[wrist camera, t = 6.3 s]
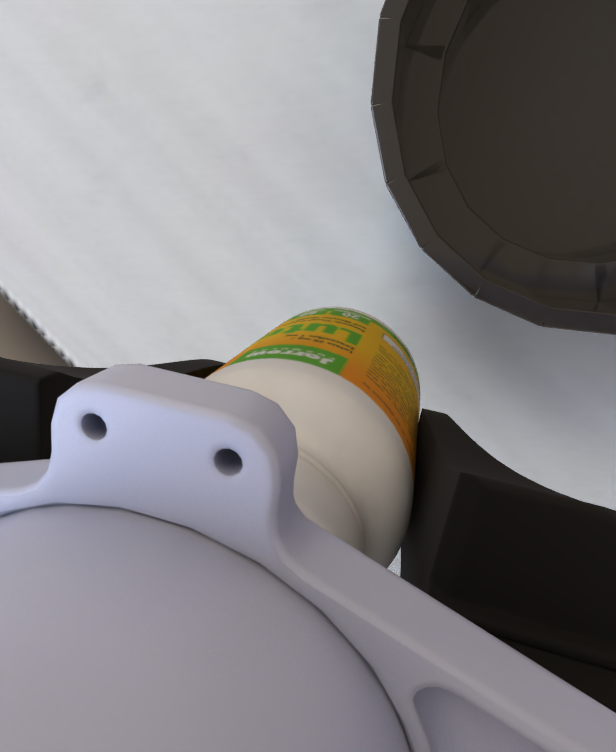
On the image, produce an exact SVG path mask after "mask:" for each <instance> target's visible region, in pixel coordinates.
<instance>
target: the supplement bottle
mask: <svg viewBox="0 0 616 752" xmlns="http://www.w3.org/2000/svg"><path fill="white" fill-rule="evenodd" d="M205 379H206V380H210V381H215V382H219V383H223V384H227V385H231V386H236V387H240V388H244V389H248V390H252V391H254V392H256V393H258V394H260V395H262V396H264V397H266V398H268V399H270V400H272V401H274V402H276V403H278V404H279V405H280V407H281V408H282V410H283V411H284V412H285V414H286V415H287V417H288V418H289V419H290V421H291V422H292V424H293V425H294V426H295V430H296V438H297V447H298V459H297V465H296V471H295V477H294V491H293V494H294V498H295V502H296V504H297V506H298V507H299V509H300V510H301V512H302V513H303V514H304V516H305V517H306V518H308V519H309V520H311V521H312V522H314V523H316V524H317V525H319V526H320V527H322V528H323V529H325V530H327V531H328V532H330V533H331V534H333V535H334V536H336V537H338V538H339V539H341V540H342V541H344V542H346V543H347V544H349V545H350V546H352V547H353V548H355V549H357V550H358V551H360V552H361V553H363V554H365V555H366V556H368V557H369V558H371V559H372V560H374V561H376V562H377V563H379V564H380V565H382V566H383V567H385V568H388V566H389V565H390V564H391V562H392V561H393V560H394V558H395V556H396V555H397V553H398V551H399V549H400V547H401V545H402V543H403V541H404V538H405V536H406V533H407V529H408V525H409V522H410V516H411V510H412V505H413V495H414V484H415V468H416V451H417V435H418V423H419V410H420V383H419V377H418V372H417V368H416V365H415V362H414V360H413V358H412V356H411V354H410V352H409V350H408V349H407V347H406V345H405V344H404V343H403V341H402V340H401V339H400V338H399V337H398V336H397V335H396V333H395V332H394V331H393V330H392V329H390V328H389V327H388V326H387V325H385V324H384V323H383V322H381V321H380V320H378V319H376V318H375V317H373V316H371V315H369V314H366V313H364V312H361V311H358V310H354V309H350V308H343V307H322V308H317V309H312V310H309V311H305V312H303V313H300V314H298V315H296V316H294V317H292V318H290V319H288V320H287V321H285V322H283V323H282V324H280V325H279V326H278V327H276V328H275V329H273V330H272V331H271V332H269V333H268V334H266V335H265V336H264V337H262V338H261V339H259V340H258V341H257V342H255V343H254V344H252V345H251V346H249V347H248V348H247V349H245V350H244V351H242V352H241V353H240V354H238V355H237V356H236V357H234V358H233V359H231V360H230V361H229V362H227V363H226V364H224V365H223V366H222V367H220V368H219V369H217V370H216V371H215V372H213V373H212V374H211V375H209V376H208V377H206V378H205Z"/></svg>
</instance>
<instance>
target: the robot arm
mask: <svg viewBox="0 0 616 752" xmlns="http://www.w3.org/2000/svg"><path fill="white" fill-rule="evenodd" d="M224 364H226V363H223V362H219V361H214V360H208V359H199V360H188V361H179V362H172V363H164V364H155V365H143V364H122V365H114V366H112V367H110V368H82V367H65V366H52V365H43V364H35V363H28V362H21V361H16V360H10V359H5V358H1V357H0V752H616V511H615V510H612V509H608V508H605V507H601V506H598V505H594V504H590V503H586V502H582V501H579V500H576V499H574V498H571V497H568V496H566V495H563V494H560V493H558V492H555V491H553V490H551V489H548V488H546V487H544V486H542V485H540V484H538V483H536V482H534V481H532V480H530V479H528V478H526V477H524V476H522V475H520V474H518V473H517V472H515V471H513V470H512V469H510V468H509V467H507V466H506V465H504V464H502V463H501V462H499V461H498V460H497V459H495V458H494V457H492V456H491V455H490V454H489V453H487V452H486V451H485V450H484V449H483V448H481V447H480V446H479V445H478V444H477V443H476V442H475V441H473V440H472V439H471V438H470V437H469V436H468V435H467V434H466V433H465V432H464V431H463V430H462V429H461V428H460V427H459V426H458V425H457V424H456V423H455V422H454V421H453V420H452V419H451V418H450V417H449V416H448V415H447V414H444V413H440V412H436V411H431V410H427V409H423V408H422V411H421V415H420V419H419V423H418V435H417V451H416V468H415V484H414V495H413V505H412V510H411V516H410V522H409V525H408V529H407V533H406V536H405V538H404V541H403V543H402V545H401V574H400V577H399V576H398V575H396V574H395V573H393V572H391V571H390V570H388V569H387V568H385V567H383V566H382V565H380V564H379V563H377V562H376V561H374V560H372V559H371V558H369V557H368V556H366V555H365V554H363V553H361V552H360V551H358V550H357V549H355V548H353V547H352V546H350V545H349V544H347V543H346V542H344V541H342V540H341V539H339V538H338V537H336V536H334V535H333V534H331V533H330V532H328V531H327V530H325V529H323V528H322V527H320V526H319V525H317V524H316V523H314V522H312V521H311V520H309V519H308V518H306V517H305V516H304V514H303V513H302V512H301V510H300V509H299V507H298V506H297V504H296V502H295V498H294V494H293V491H294V477H295V471H296V465H297V459H298V447H297V438H296V430H295V426H294V425H293V424H292V422H291V421H290V419H289V418H288V417H287V415H286V414H285V412H284V411H283V410H282V408H281V407H280V405H279V404H278V403H276V402H274V401H272V400H270V399H268V398H266V397H264V396H262V395H260V394H258V393H256V392H254V391H252V390H248V389H244V388H240V387H236V386H231V385H227V384H223V383H219V382H215V381H210V380H206V379H205V378H206V377H208V376H209V375H211V374H212V373H213V372H215V371H216V370H217V369H219V368H220V367H222V366H223V365H224Z"/></svg>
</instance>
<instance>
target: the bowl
mask: <svg viewBox="0 0 616 752" xmlns="http://www.w3.org/2000/svg"><path fill="white" fill-rule="evenodd" d="M371 105H372V106H371V111H372V116H373V122H374V127H375V132H376V137H377V143H378V148H379V153H380V158H381V164H382V169H383V174H384V179H385V183H386V186H387V188H388V190H389V192H390V194H391V195H392V197H393V199H394V201H395V203H396V204H397V206H398V208H399V210H400V212H401V214H402V215H403V217H404V219H405V221H406V223H407V225H408V226H409V228H410V230H411V232H412V234H413V236H414V237H415V239H416V241H417V243H418V245H419V247H420V248H422V250H423V251H424V252H425V253H426V254H427V255H428V256H429V257H430V258H431V259H433V260H434V261H435V262H436V263H437V264H438V265H439V266H440V267H441V268H442V269H443V270H445V271H446V272H447V273H448V274H449V275H450V276H451V277H452V278H453V279H454V280H456V281H457V282H458V283H459V284H460V285H461V286H462V287H463V288H464V289H465V290H466V291H468V292H469V293H470V294H471V295H473V296H474V297H475V298H477V299H479V300H481V301H484V302H486V303H488V304H491V305H493V306H495V307H497V308H500V309H502V310H504V311H506V312H509V313H511V314H513V315H516V316H518V317H520V318H522V319H525V320H527V321H529V322H531V323H534V324H536V325H538V326H542V327H549V328H558V329H567V330H576V331H585V332H594V333H603V334H612V335H616V0H385V3H384V5H383V8H382V11H381V13H380V19H379V24H378V35H377V45H376V55H375V65H374V75H373V86H372V96H371Z"/></svg>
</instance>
